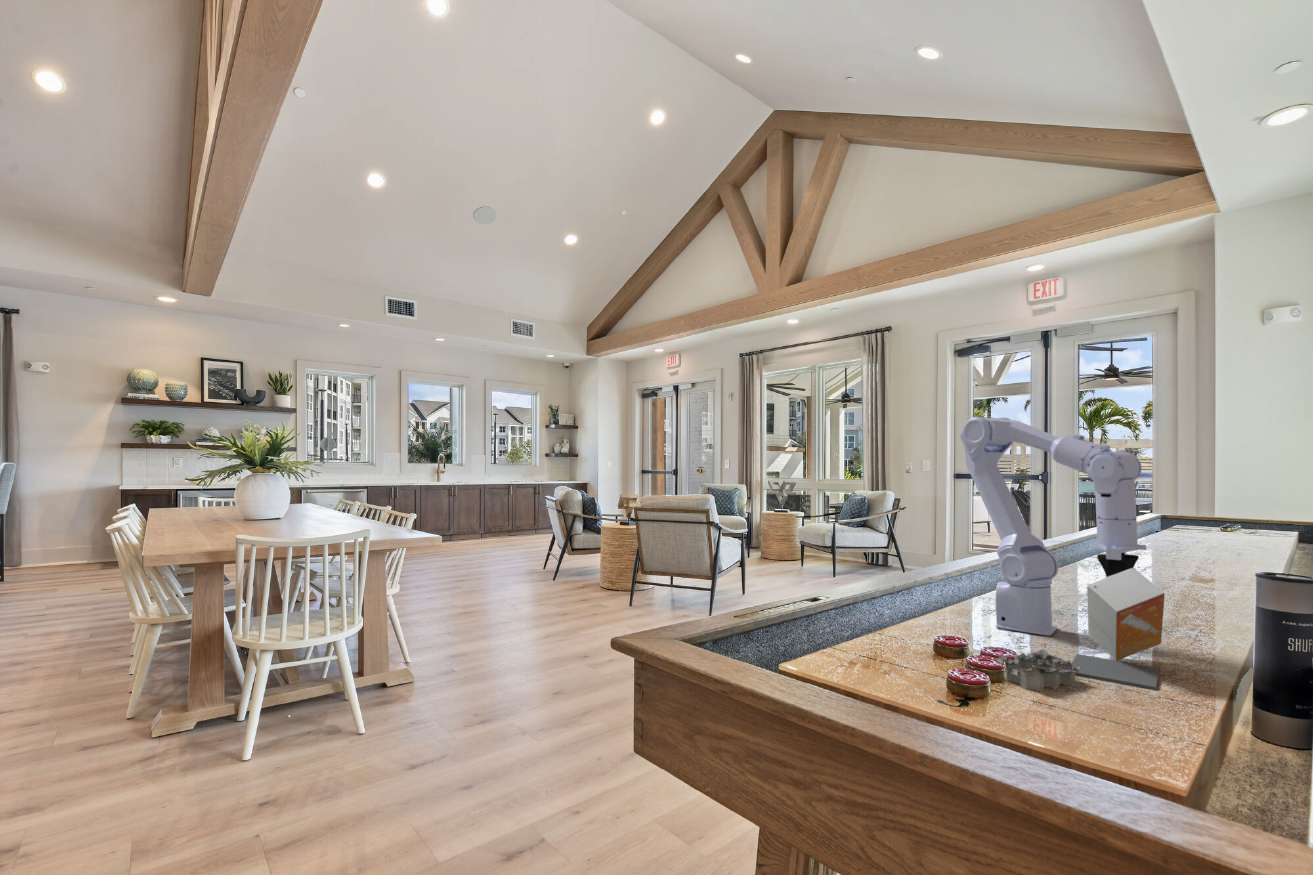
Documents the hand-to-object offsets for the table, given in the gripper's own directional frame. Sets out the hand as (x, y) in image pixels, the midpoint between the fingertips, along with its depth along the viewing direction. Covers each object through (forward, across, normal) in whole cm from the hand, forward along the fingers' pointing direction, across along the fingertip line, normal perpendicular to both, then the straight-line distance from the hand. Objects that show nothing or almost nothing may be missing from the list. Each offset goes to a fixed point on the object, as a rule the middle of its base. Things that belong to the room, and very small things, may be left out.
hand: (1119, 596), depth 108 cm
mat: (+10, -13, 0) cm, 17 cm away
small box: (+7, -3, -1) cm, 8 cm away
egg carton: (+10, -25, +9) cm, 29 cm away
